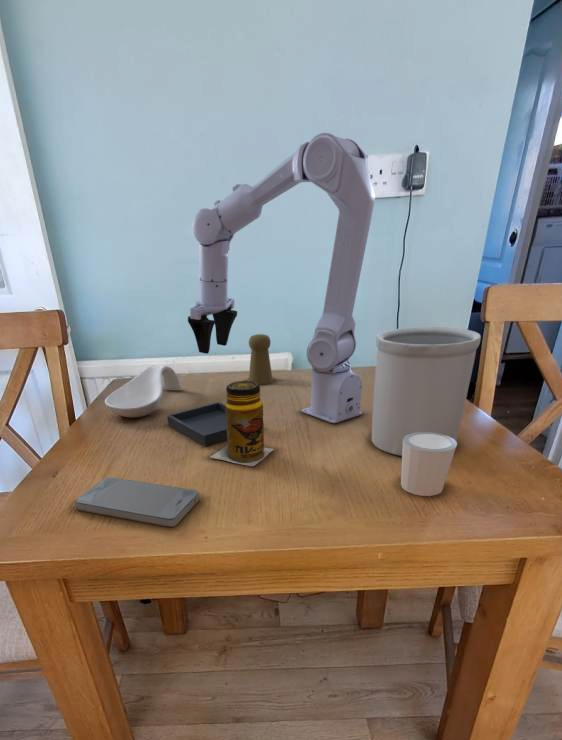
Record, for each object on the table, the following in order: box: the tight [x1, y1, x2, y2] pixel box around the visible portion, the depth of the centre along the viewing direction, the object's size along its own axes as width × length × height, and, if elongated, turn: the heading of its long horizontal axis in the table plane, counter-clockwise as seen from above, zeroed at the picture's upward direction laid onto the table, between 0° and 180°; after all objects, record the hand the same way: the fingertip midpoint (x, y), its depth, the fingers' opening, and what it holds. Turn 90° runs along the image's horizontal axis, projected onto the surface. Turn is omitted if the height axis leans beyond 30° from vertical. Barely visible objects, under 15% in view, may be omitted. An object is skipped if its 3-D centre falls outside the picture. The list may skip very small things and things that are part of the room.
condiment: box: [209, 380, 274, 467], centre depth 75 cm, size 7×8×12 cm
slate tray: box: [166, 401, 227, 448], centre depth 89 cm, size 14×12×2 cm
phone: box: [74, 476, 200, 528], centre depth 65 cm, size 8×16×1 cm, turn 68°
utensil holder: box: [371, 326, 482, 457], centre depth 75 cm, size 15×15×18 cm
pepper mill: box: [248, 333, 274, 386], centre depth 113 cm, size 6×6×11 cm
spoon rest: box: [104, 365, 182, 419], centre depth 102 cm, size 24×12×7 cm, turn 162°
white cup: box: [400, 432, 458, 497], centre depth 64 cm, size 7×7×7 cm
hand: (213, 348), depth 101 cm, fingers open, 7 cm apart
